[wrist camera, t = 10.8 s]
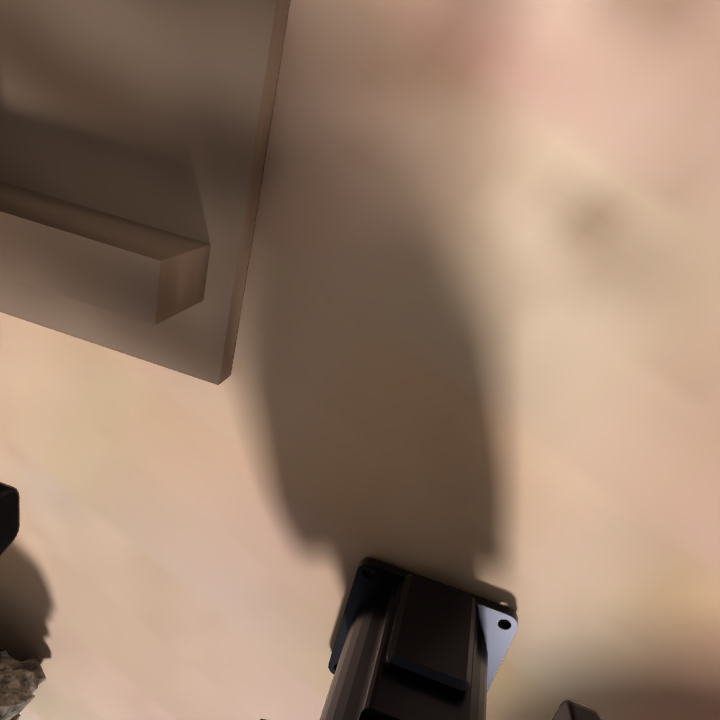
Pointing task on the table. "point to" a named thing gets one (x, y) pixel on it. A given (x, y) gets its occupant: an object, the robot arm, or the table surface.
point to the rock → (17, 684)
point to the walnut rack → (135, 169)
